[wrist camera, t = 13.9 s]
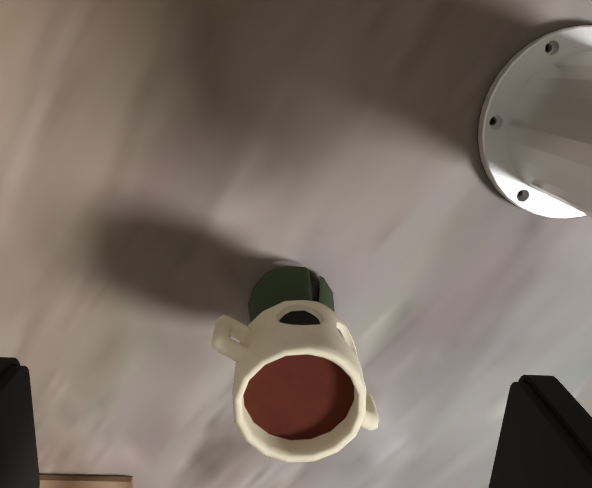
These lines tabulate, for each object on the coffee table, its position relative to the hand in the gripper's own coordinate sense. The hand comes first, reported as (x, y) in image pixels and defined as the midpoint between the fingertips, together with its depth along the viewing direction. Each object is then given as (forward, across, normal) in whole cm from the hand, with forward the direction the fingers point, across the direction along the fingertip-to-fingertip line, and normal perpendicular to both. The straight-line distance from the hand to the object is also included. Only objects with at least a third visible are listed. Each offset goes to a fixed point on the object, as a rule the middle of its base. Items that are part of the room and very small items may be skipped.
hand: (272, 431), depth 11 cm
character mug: (+28, -2, +10) cm, 30 cm away
